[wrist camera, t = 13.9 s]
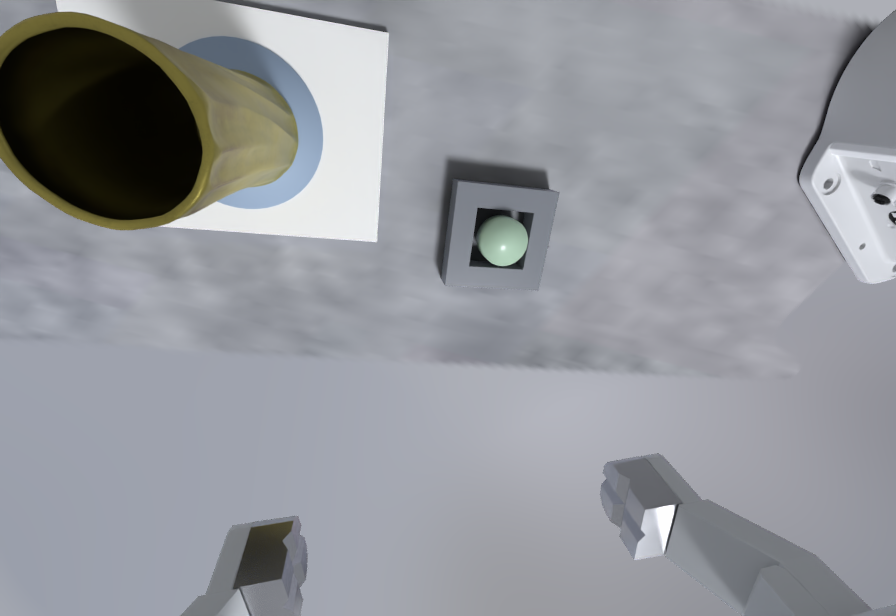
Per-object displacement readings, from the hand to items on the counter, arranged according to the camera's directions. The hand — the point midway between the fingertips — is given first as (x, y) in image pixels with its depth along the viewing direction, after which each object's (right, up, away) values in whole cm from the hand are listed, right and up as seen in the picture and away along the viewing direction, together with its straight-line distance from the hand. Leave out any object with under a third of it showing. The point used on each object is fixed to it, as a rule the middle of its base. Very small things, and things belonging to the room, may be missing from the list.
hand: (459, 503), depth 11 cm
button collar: (+3, +10, +19) cm, 22 cm away
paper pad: (-12, +16, +13) cm, 24 cm away
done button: (+3, +10, +18) cm, 21 cm away
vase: (-12, +15, +13) cm, 23 cm away
